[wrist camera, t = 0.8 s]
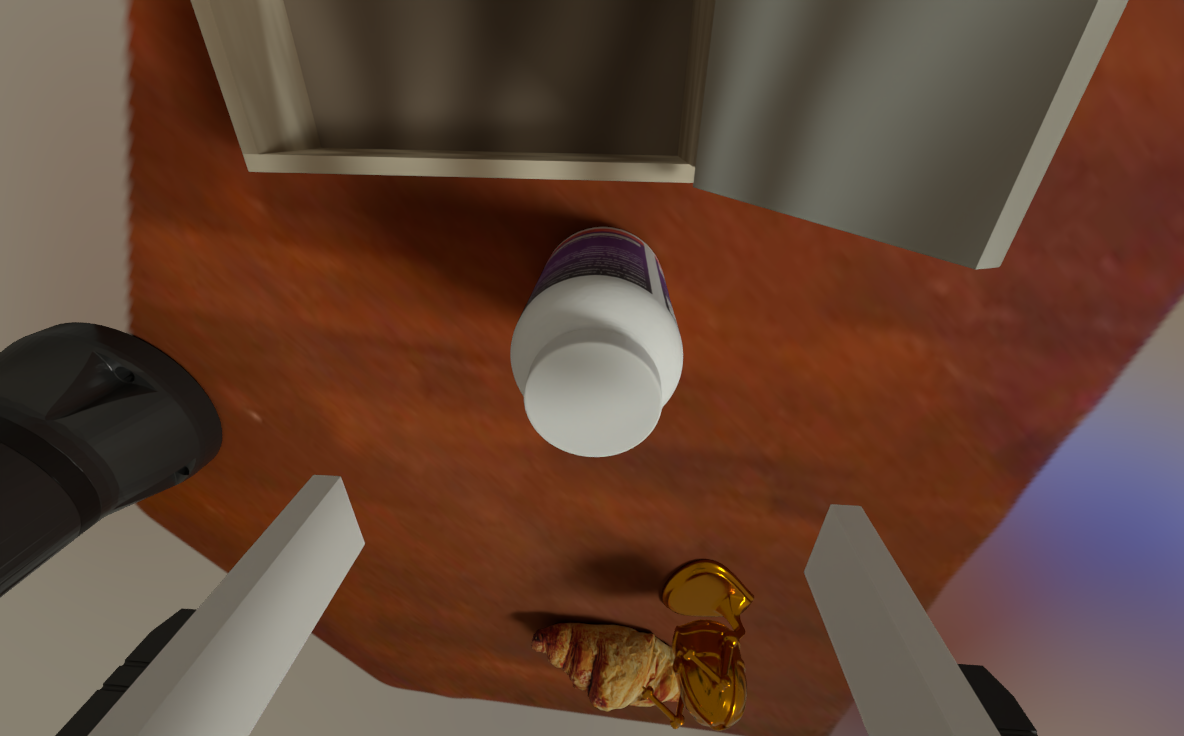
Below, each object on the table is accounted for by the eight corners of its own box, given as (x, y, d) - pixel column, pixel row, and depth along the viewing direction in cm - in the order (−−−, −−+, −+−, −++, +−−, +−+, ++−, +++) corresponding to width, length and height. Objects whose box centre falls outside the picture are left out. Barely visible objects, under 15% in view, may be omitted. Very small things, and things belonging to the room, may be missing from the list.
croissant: (705, 630, 55) (735, 679, 47) (673, 703, 55) (699, 765, 47) (547, 579, 51) (552, 624, 43) (514, 659, 51) (513, 718, 43)
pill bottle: (520, 285, 30) (449, 403, 18) (601, 195, 27) (583, 261, 15) (605, 358, 33) (595, 507, 20) (689, 283, 29) (737, 406, 17)
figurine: (675, 547, 42) (692, 686, 32) (771, 581, 44) (817, 724, 34) (636, 595, 46) (639, 732, 36) (725, 624, 48) (753, 764, 38)
